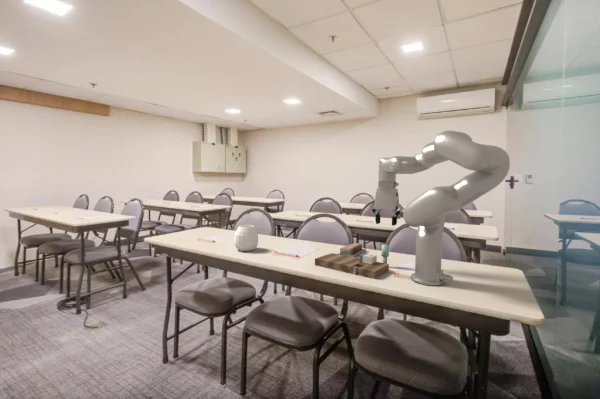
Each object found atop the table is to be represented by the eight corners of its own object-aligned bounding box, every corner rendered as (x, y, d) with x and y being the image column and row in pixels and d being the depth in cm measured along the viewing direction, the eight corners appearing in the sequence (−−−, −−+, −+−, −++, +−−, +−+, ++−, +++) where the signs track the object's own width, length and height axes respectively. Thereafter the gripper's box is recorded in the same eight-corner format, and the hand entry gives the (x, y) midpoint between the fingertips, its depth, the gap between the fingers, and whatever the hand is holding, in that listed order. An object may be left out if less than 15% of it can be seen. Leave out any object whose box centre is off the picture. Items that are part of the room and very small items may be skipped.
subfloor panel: (388, 270, 133) (389, 263, 133) (374, 279, 122) (374, 271, 122) (331, 258, 152) (331, 252, 152) (314, 265, 141) (314, 258, 141)
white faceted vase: (230, 249, 171) (230, 225, 170) (251, 246, 179) (251, 223, 178) (241, 253, 161) (241, 228, 160) (262, 250, 169) (262, 226, 168)
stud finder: (376, 262, 135) (376, 255, 135) (371, 264, 131) (371, 257, 131) (364, 259, 139) (364, 252, 139) (359, 262, 135) (359, 254, 135)
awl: (389, 266, 140) (390, 245, 139) (386, 268, 137) (387, 246, 136) (382, 265, 142) (383, 244, 141) (380, 266, 139) (380, 245, 138)
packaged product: (354, 249, 153) (336, 247, 159) (353, 259, 154) (336, 256, 159) (366, 243, 169) (350, 241, 174) (366, 251, 169) (349, 249, 174)
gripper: (409, 185, 134) (407, 225, 135) (372, 184, 145) (372, 221, 146) (402, 185, 128) (401, 227, 130) (365, 185, 139) (364, 223, 141)
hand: (385, 224), depth 138 cm, fingers open, 7 cm apart
